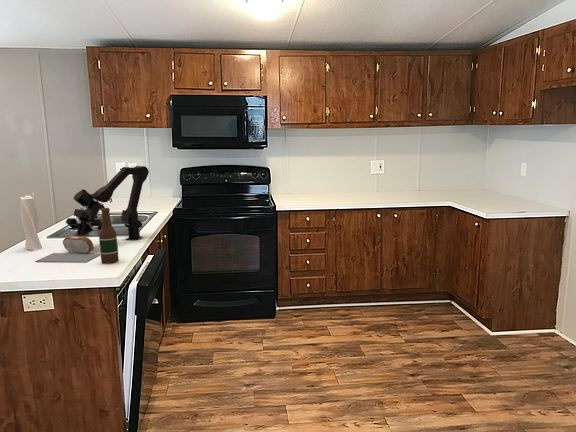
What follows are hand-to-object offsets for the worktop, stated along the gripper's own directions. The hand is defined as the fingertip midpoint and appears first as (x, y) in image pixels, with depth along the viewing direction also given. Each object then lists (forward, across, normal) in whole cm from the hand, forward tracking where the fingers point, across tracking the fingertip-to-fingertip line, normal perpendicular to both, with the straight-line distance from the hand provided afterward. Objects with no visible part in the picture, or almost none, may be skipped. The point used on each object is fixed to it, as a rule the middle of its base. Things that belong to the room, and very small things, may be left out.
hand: (78, 238), depth 224 cm
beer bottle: (+12, +24, -2) cm, 27 cm away
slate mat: (+11, +2, -1) cm, 11 cm away
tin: (+5, 0, +5) cm, 7 cm away
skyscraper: (+4, -29, +7) cm, 30 cm away
